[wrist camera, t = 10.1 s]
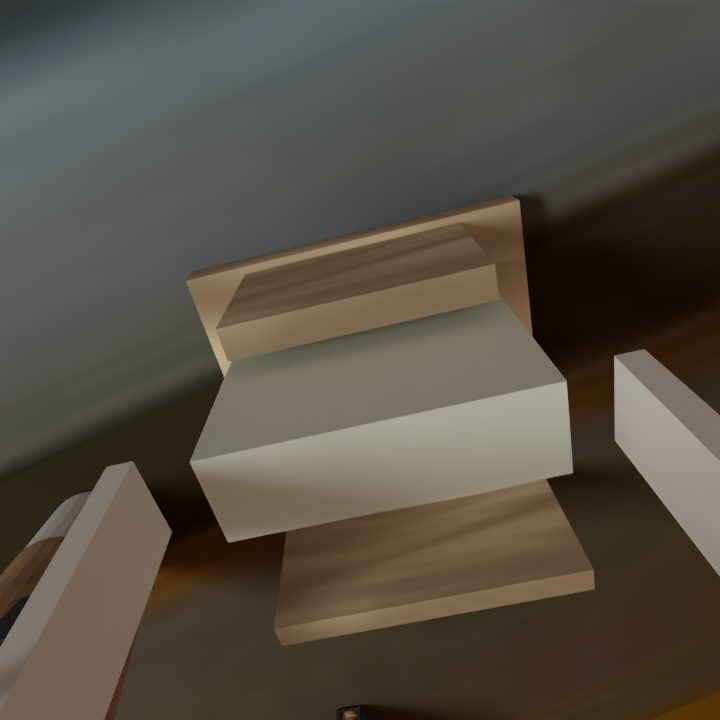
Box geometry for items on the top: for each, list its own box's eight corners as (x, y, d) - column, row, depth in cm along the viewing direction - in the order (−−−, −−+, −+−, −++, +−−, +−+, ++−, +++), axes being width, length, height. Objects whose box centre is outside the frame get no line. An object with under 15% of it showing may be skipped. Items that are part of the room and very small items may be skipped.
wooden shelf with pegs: (193, 272, 23) (137, 338, 17) (510, 194, 22) (576, 235, 16) (296, 535, 30) (283, 650, 24) (541, 486, 29) (594, 593, 23)
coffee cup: (166, 465, 28) (5, 808, 15) (198, 579, 32) (93, 934, 18) (7, 476, 28) (-301, 828, 15) (58, 588, 32) (-149, 950, 18)
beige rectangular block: (248, 319, 23) (189, 462, 14) (477, 265, 22) (566, 381, 13) (269, 378, 24) (228, 542, 15) (486, 329, 24) (572, 473, 15)
